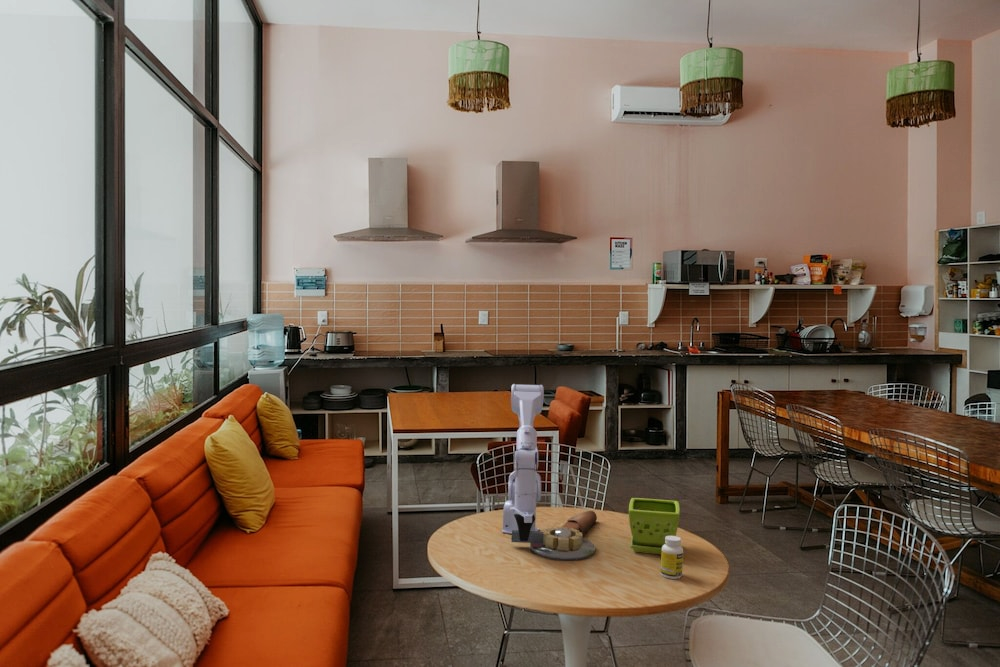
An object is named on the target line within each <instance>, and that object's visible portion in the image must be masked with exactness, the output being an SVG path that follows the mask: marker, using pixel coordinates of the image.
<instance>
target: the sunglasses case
mask: <svg viewBox="0 0 1000 667" xmlns="http://www.w3.org/2000/svg"><path fill="white" fill-rule="evenodd" d="M597 516H598V515H597V514H596V512H595V511H594V510H588V511H583V512H581V513H578V514H575V515H574V516H571V517H569V518H568V519H567V520H566V522H565V523H563V525H561V527H567V529H571V528H573V529H576V530H579V531H580V532H582V535H583V536H584V535H585V534H586V533H587V531H588V530H589V529H590V527H592V525H593V524H594V523H596V522H597V519H598V518H597Z"/></svg>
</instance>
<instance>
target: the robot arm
mask: <svg viewBox="0 0 1000 667" xmlns="http://www.w3.org/2000/svg"><path fill="white" fill-rule="evenodd" d="M544 388H545V387H544V386H543V384H515V383H513V384H512V385H511V392H510V393H511V394H510V406H511V407H510V408H511V412H512V413H514V414H516V415H517V417H518V418H517V419H518V421H519V428H518V429H517V431H516V448H515V449H516V450H515V451H514V463H513V464H514V470H513V471H512V472H511V473H510V474H509V476H508V483H507V484H508V485H507V486H508V487H507V489H508V490H507V500H506V501H505V503H504V505H503V511H502V529H501V533H503V534H511V535H512V530H518V532H519V538H520V541H528V538H529V534H530V531H540V530H541V529H540V527H537V526H536V523H537V522H536V519H537V518H536V517H537V513H536V512H537V504H538V503H539V502H541V499H542V477H541V475H540V474H539V473H538V472H537V470H538V468H539V451H538V446H537V445H538V442H537V441H538V437H537V435H538V433H537V432H538V431H537V430H536V429H535V428H534V420H535V418H536V416H537V415H539V414H541V413H542V410H543V404H544V400H545V399H544V396H545V395H544V394H545V393H544V392H545V391H544V390H545V389H544ZM537 502H538V503H537Z"/></svg>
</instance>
